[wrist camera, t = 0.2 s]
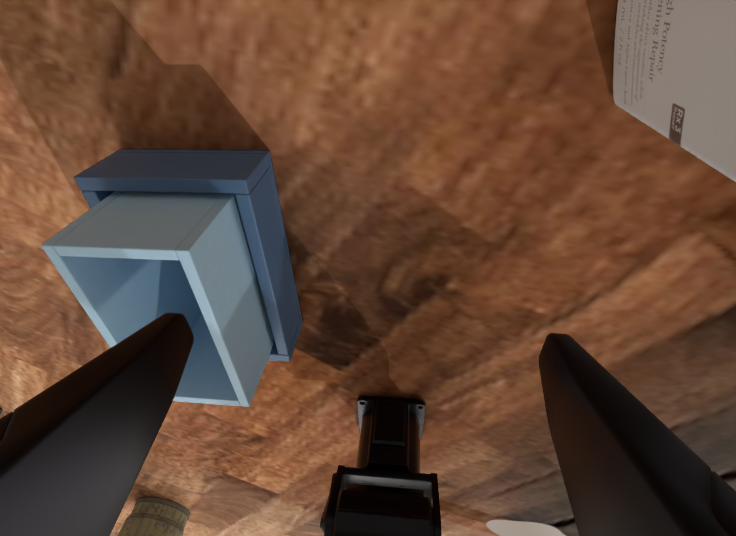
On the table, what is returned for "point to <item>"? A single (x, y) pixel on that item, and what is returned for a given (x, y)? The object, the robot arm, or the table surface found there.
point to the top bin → (173, 283)
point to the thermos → (155, 518)
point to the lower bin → (218, 175)
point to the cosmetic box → (680, 73)
